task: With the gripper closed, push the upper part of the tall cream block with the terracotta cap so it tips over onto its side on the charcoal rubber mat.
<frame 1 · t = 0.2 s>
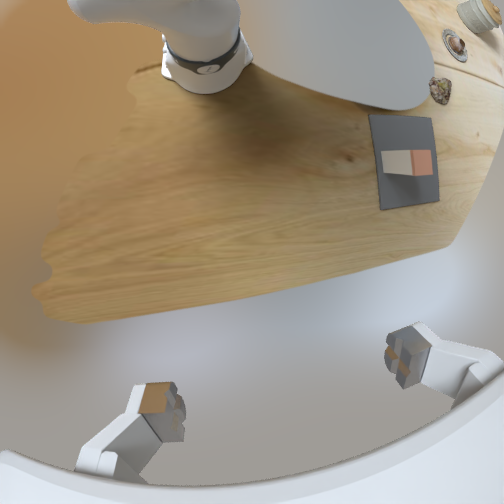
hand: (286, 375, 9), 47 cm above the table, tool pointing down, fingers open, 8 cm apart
pastry: (453, 45, 45), on the table
mineral rock: (438, 89, 50), on the table
rubber mat: (408, 160, 54), on the table
jar: (467, 19, 40), on the table
cream block: (390, 161, 54), point 1 cm above the table, touching rubber mat
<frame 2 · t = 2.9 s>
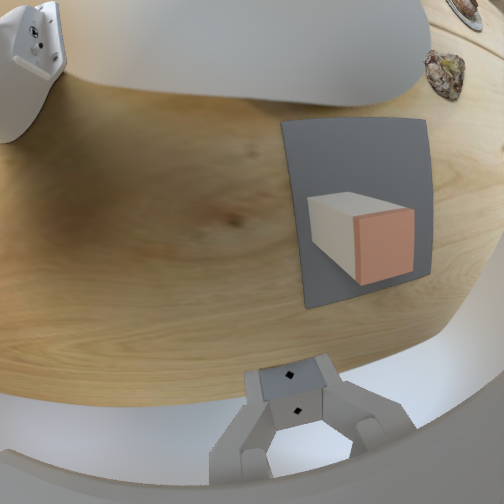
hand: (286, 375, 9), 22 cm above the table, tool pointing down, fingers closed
pastry: (459, 6, 20), on the table
mineral rock: (442, 73, 26), on the table
rubber mat: (373, 208, 30), on the table
cream block: (330, 216, 29), point 1 cm above the table, touching rubber mat
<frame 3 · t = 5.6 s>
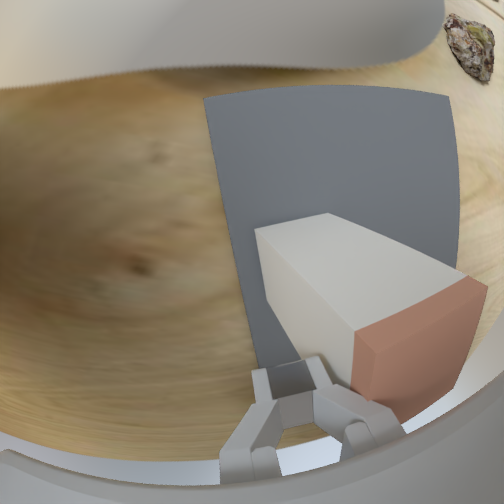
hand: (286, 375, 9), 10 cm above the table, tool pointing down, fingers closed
mineral rock: (467, 46, 14), on the table
rubber mat: (369, 236, 19), on the table
cream block: (297, 257, 18), point 1 cm above the table, tilted 6°, touching gripper, rubber mat
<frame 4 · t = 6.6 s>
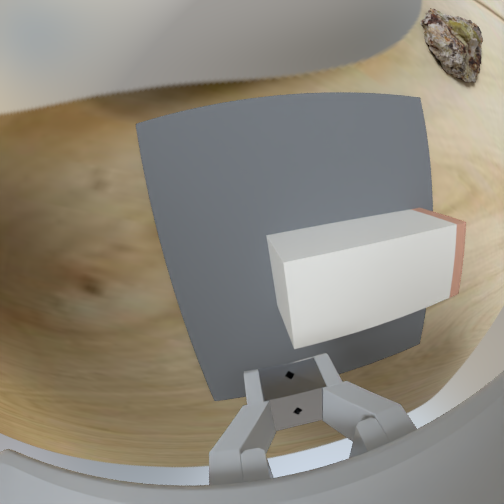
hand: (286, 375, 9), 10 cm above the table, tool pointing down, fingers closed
mineral rock: (450, 45, 14), on the table
rubber mat: (319, 258, 18), on the table
cream block: (279, 288, 15), point 3 cm above the table, tilted 90°, touching rubber mat
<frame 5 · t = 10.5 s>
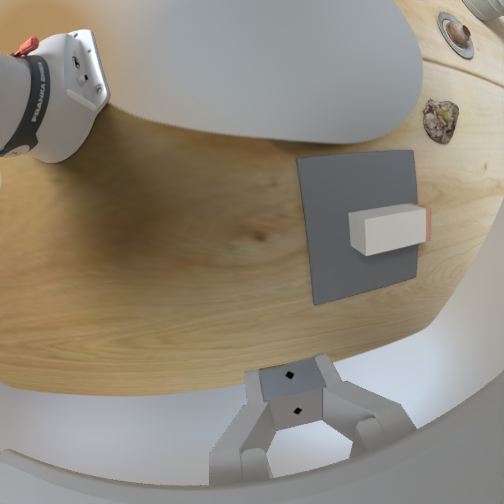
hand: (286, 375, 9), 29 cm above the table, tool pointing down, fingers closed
pastry: (453, 35, 29), on the table
mineral rock: (438, 119, 35), on the table
rubber mat: (367, 224, 39), on the table
jar: (470, 2, 24), on the table
cream block: (357, 233, 36), point 3 cm above the table, tilted 90°, touching rubber mat
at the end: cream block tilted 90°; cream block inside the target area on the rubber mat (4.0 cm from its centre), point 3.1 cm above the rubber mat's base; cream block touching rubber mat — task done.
